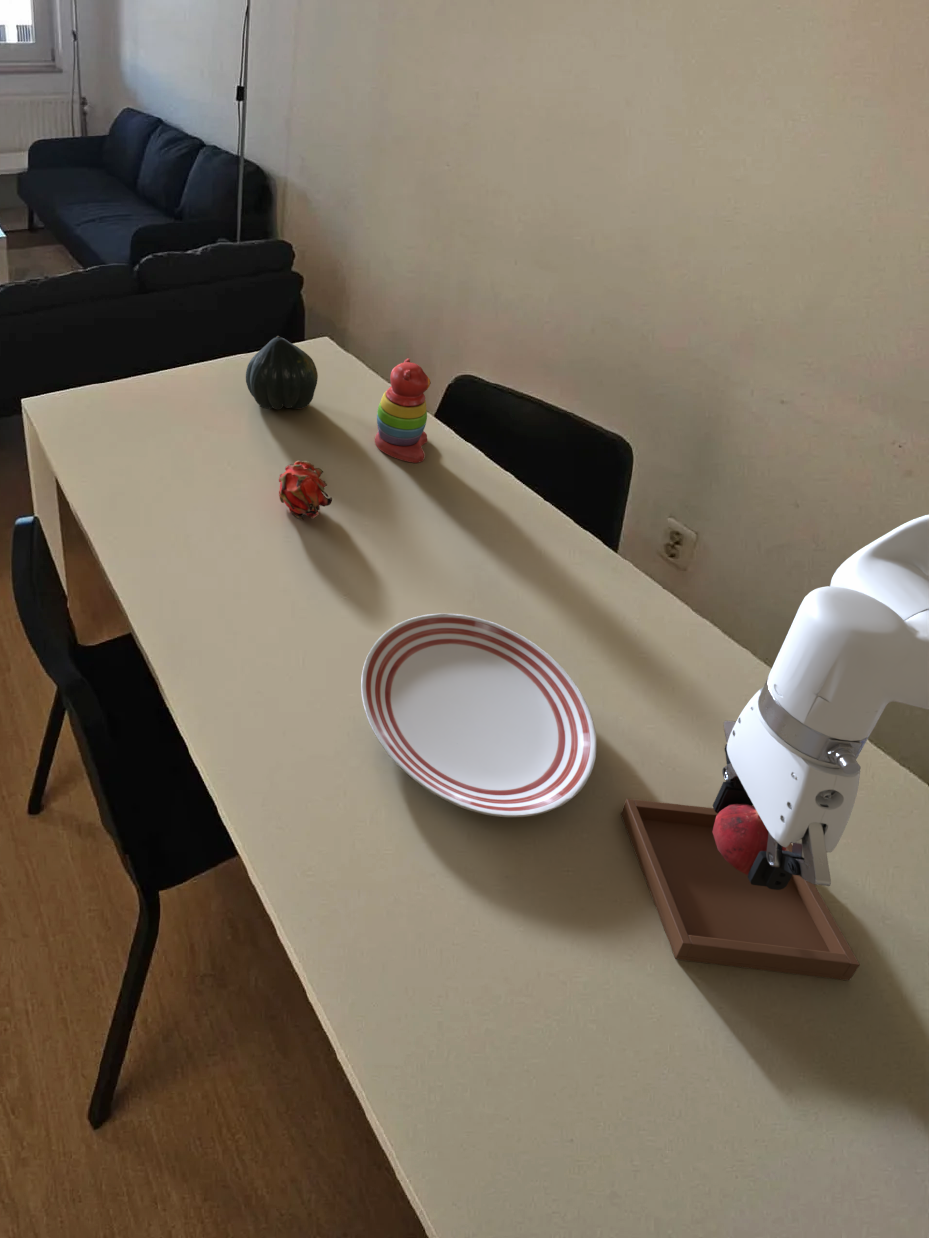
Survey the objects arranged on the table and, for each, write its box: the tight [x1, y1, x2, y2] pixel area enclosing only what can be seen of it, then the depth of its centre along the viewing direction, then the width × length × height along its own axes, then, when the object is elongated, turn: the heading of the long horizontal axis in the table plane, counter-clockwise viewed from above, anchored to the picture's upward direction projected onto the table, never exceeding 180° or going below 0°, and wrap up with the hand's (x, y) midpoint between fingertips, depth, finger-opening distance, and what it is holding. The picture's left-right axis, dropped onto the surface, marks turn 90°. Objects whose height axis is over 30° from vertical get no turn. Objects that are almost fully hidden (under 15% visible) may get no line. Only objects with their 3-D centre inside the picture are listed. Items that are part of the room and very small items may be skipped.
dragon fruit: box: [278, 459, 333, 521], centre depth 128 cm, size 8×8×12 cm
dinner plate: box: [360, 613, 598, 818], centre depth 93 cm, size 27×27×3 cm
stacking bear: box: [374, 358, 432, 464], centre depth 145 cm, size 11×10×18 cm
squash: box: [245, 335, 319, 410], centre depth 160 cm, size 14×15×15 cm
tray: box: [620, 798, 861, 981], centre depth 76 cm, size 16×14×3 cm
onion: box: [712, 804, 786, 875], centre depth 73 cm, size 6×6×8 cm
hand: (747, 845), depth 74 cm, fingers closed on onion, 5 cm apart
